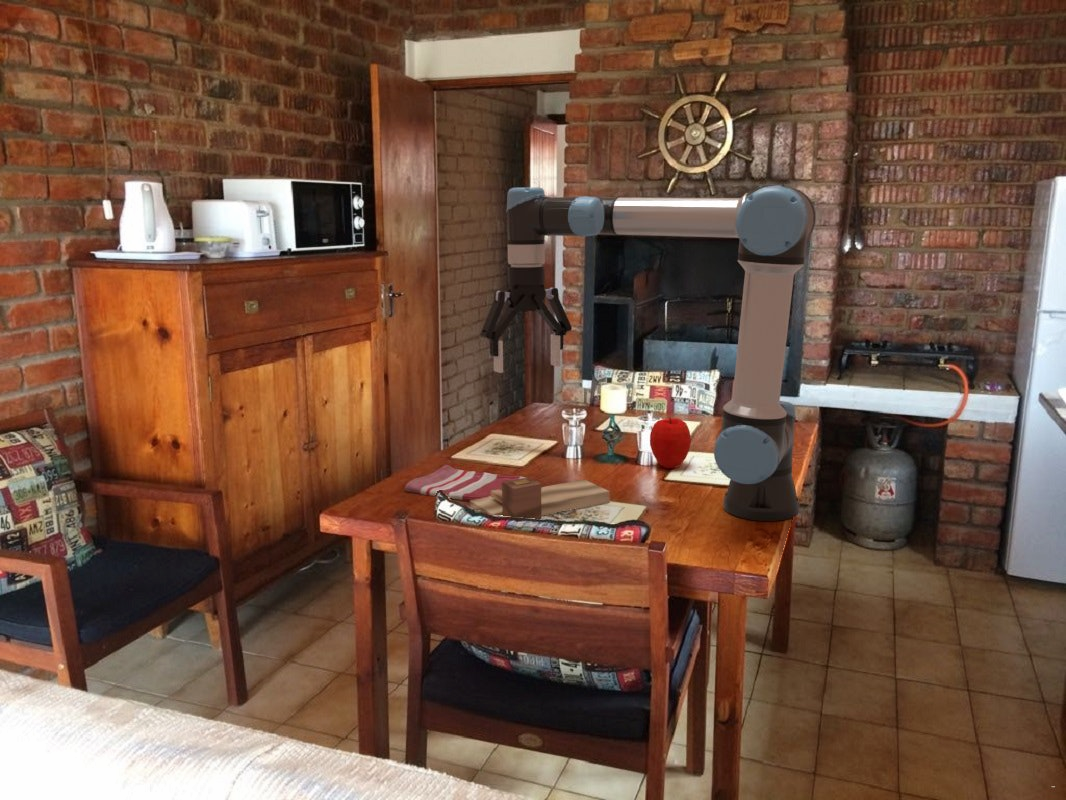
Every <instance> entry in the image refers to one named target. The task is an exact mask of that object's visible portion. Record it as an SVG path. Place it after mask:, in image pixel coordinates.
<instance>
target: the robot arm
mask: <svg viewBox="0 0 1066 800" xmlns="http://www.w3.org/2000/svg"><path fill="white" fill-rule="evenodd" d="M506 198H507V201H506V211H505V212H506V223H507V224H506V225H507V227H506V229H507V263H508V265H510V266H509V267H508V268H507V284H508V289H507V290H508V291H503V290H495V291H494V294H493V302H492V305H491V307H490V309H489V312H488V314H487V317H486V319H485V321H484V323H483V327H482V329H481V330H480V337H481V338H485V339H488V340H489V354H490V356H492V357H493V371H494V372H495V373H499V374H503V373H504V348H503V347H504V345H503V344H504V341H503V340H501V339H500V338H501V337H502V335H503V334H504V333H505V331H506V330H507V328H508V327H509V325H510V324H511V322H513V319H514V318H515V317H516V315H518V314H519V312H520V313H527V312H537V313H538V314H539V316H541V318H542V319H543V320H544V322H545V323H546V324H547V326H548V327H549V328H550V329H551V331H552V332H553V334H550V365H551V366H554V367H557V368H558V367H561V351H562V350H563V349H564V336H566V334H567V333H568V332H571V331H572V328H573V327H572V324H571V322H570V320H569V318H568V316H567V314H566V312H565V309H564V306H563V304H562V302H561V299H560V296H559V295H560V294H559V289H558V288H556V287H549V286H548V288H547V289H546V288H545V283H546V269H545V266H543V265H544V264H545V263H546V257H545V256H546V255H545V253H546V250H545V248H546V247H545V237H547V236H548V237H551V236H553V237H554V236H559V237H561V236H562V237H580V238H581V237H582V238H584V237H592V236H597V235H627V236H628V235H631V236H661V237H662V236H668V237H669V236H671V237H701V238H704V237H705V238H738V239H739V244H738V254H737V262H738V263H739V265H740V266H741V267H742V269H743V270H744V280H743V291H742V300H741V309H740V318H739V319H740V321H739V329H738V341H737V347H736V348H737V349H736V350H737V351H736V358H735V359H736V361H735V369H734V370H735V371H734V379H733V390H732V398H731V399H730V400H729V401H728V402H726V403H725V404H724V405H723V407H722V416H721V427H720V433H719V435H718V436H717V437H716V439H715V442H714V447H713V448H714V449H713V456H714V460H715V463H716V465H717V468H718V469H719V470H720V471H721V473H722V474H723V475H724V476H725V477H727V478H728V479H729V483H728V486H727V490H726V492H725V493H724V496H723V509H724V510H725V511H726V512H727V513H728V514H730V515H732V516H734V517H735V516H736V517H737V518H741V519H744V520H752V521H760V522H777V521H785V520H790V519H792V518H795V517H796V516H798V514H799V513H800V499H799V497H798V496H797V490H796V486H795V482H794V479H793V462H794V461H793V458H794V442H795V441H794V440H795V439H794V438H795V437H794V436H795V421H796V418H797V417H796V409H795V405H794V404H793V403H792V402H789V401H785V400H781V393H782V382H783V372H784V365H785V358H786V349H787V348H786V346H787V339H788V330H789V320H790V312H791V303H792V297H793V296H792V293H793V285H794V276H795V274H796V273H797V272H798V271H799V270H801V268H803V267H804V266H805V257H806V250H807V241H808V239H809V238H810V236H811V235H812V233H813V231H814V230H815V225H816V222H817V221H816V220H817V217H816V216H817V215H816V214H817V213H816V209H815V206H814V204H813V202H812V200H811V198H809V196H808V195H806V193H805V192H803V191H801V190H799V189H797V188H794V187H789V186H783V185H782V186H781V185H778V184H777V185H768V186H764V187H762V188H759V189H758V190H756V191H754V192H746V193H744V195H742V196H741V197H622V196H621V197H610V196H609V197H607V196H586V195H585V196H583V195H582V196H581V195H580V196H563V197H561V196H559V197H548V196H546V194H545V189H544V188H542V187H538V186H537V187H535V186H534V187H511V188H509V190H508V192H507V196H506ZM545 298H546V299H548V302H549V305H550V307H551V309H552V311H553V314H552V313H551V311H550V310H549V309H548V306H547V304H546V303H544V299H545ZM507 299H508V301H509V304H508V305H507V306H506V308H505V312H503V314H502V316H501V313H502V310H503V308H504V306H505V303H506V302H507ZM500 316H501V317H500ZM554 316H555V317H556V318H555V317H554Z"/></svg>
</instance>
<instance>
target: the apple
mask: <svg viewBox="0 0 1066 800" xmlns="http://www.w3.org/2000/svg"><path fill="white" fill-rule="evenodd" d="M691 443H692V436H691V431H690V429H689V426H688V424H687V422H686V421H684V420H682V419H681V418H678V417H677V418H676V417H675V418H671V417H669V418H665V419H664V418H663V419H660V420H657V421H656V422H655V423H654V424H653V426H652V428H651V430H650V434H649V446H650V450H651V452H652V455H653V457H654V458H655V460H656V461H657V463H658V464H659V465H660V466H662V467H664V468H665V469H675V468H678V467H680V466H681V465H682V464H683V463H684V462H685V460H686V459H687V456H688V454H689V452H690V448H691Z"/></svg>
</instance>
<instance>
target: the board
mask: <svg viewBox="0 0 1066 800" xmlns="http://www.w3.org/2000/svg"><path fill="white" fill-rule="evenodd" d="M610 493H611V492H610V490H607V489H606V488H604V487H601V486H600V485H598V484H595V483H593V482H590V481H588V480H587V479H579V480H574V481H568V482H564V483H563V482H562V483H557V484H552V485H546V486H541V517H544V516H543V515H545V516H549V515H548V514H550V515H554V514H553V513H555V514H558V513H557V512H560V513H562V512H561V511H564V510H570V509H575V508H580V509H583V508H582V507H585V508H588V507H587V506H590V507H594V506H601V505H605V504H608V503H610V502H611V497H610ZM470 506H471V507H473V508H476V509H478V510H481V511H484V512H487V513H490V514H495V515H502V503H501V502H499V501H498V500H496V499H494V498H493V497H486V498H480V499H475V500H470V502H469V507H470ZM575 510H576V509H575ZM570 511H571V510H570Z"/></svg>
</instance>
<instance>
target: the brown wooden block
mask: <svg viewBox="0 0 1066 800" xmlns="http://www.w3.org/2000/svg"><path fill="white" fill-rule="evenodd" d="M541 487H542V483H541V482H539V481H537V480H534V479H533V478H531V477H526V478H522V479H517V480H511V481H505V482H502V491H501V490H500V489H498V490H493V491H491V497H493V498H494V499H496V500H498V501H499V502H501V503H502V515H503V516H511V517H523V518H535V519H542V517H543V516H541ZM542 520H543V519H542Z"/></svg>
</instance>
